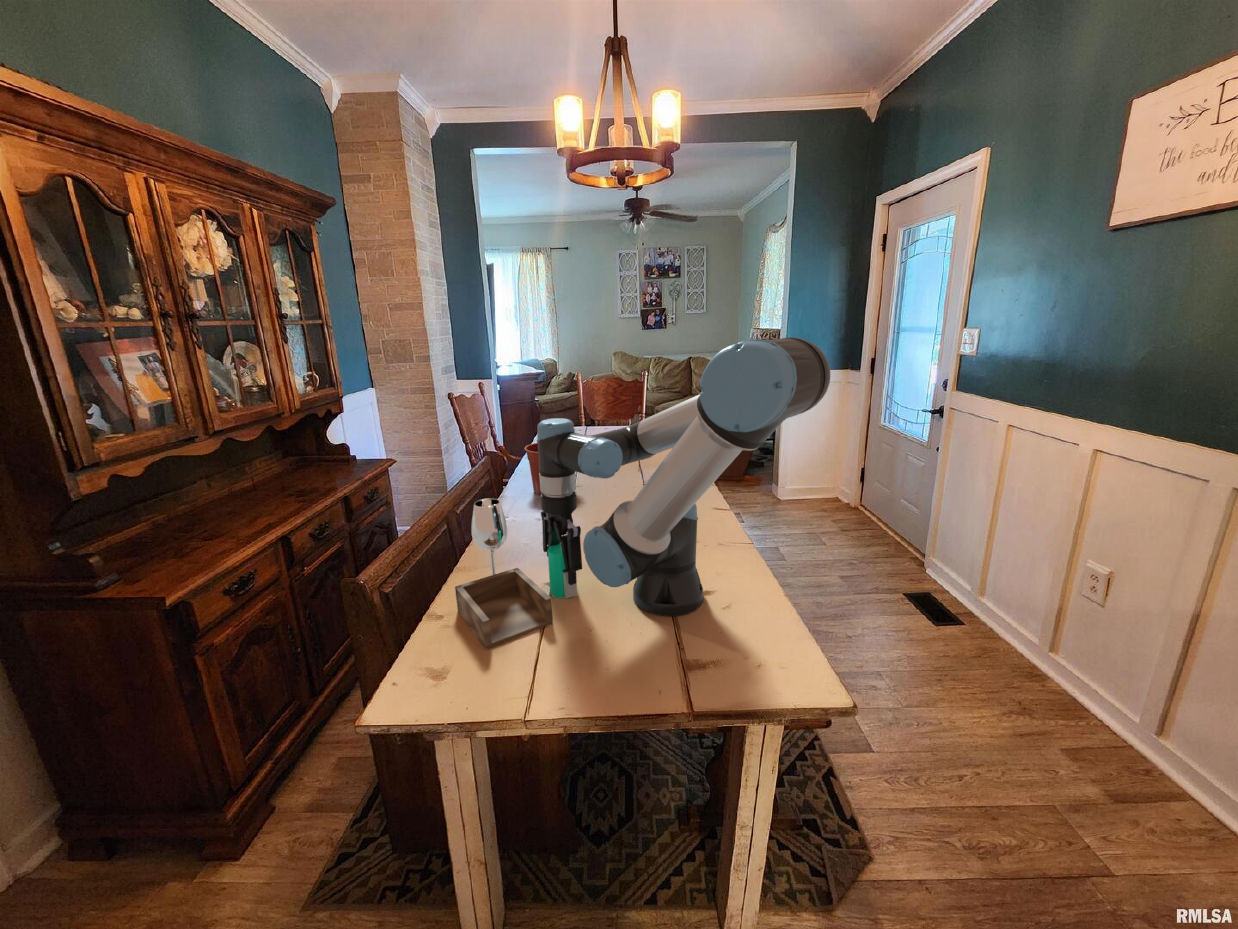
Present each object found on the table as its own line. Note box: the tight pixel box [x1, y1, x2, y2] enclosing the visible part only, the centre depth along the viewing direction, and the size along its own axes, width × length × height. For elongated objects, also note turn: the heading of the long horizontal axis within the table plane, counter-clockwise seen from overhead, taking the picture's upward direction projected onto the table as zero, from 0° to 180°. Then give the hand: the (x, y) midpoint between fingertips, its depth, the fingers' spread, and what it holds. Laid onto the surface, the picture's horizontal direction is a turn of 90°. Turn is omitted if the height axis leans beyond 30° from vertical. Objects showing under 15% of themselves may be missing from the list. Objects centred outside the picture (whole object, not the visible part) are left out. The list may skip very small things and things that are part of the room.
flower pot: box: [524, 442, 542, 496], centre depth 182 cm, size 16×16×16 cm
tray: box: [454, 567, 554, 650], centre depth 105 cm, size 16×14×6 cm
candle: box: [547, 543, 566, 599], centre depth 114 cm, size 6×6×12 cm
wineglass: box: [471, 498, 508, 575], centre depth 116 cm, size 8×8×20 cm
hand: (563, 589), depth 115 cm, fingers closed on candle, 6 cm apart
